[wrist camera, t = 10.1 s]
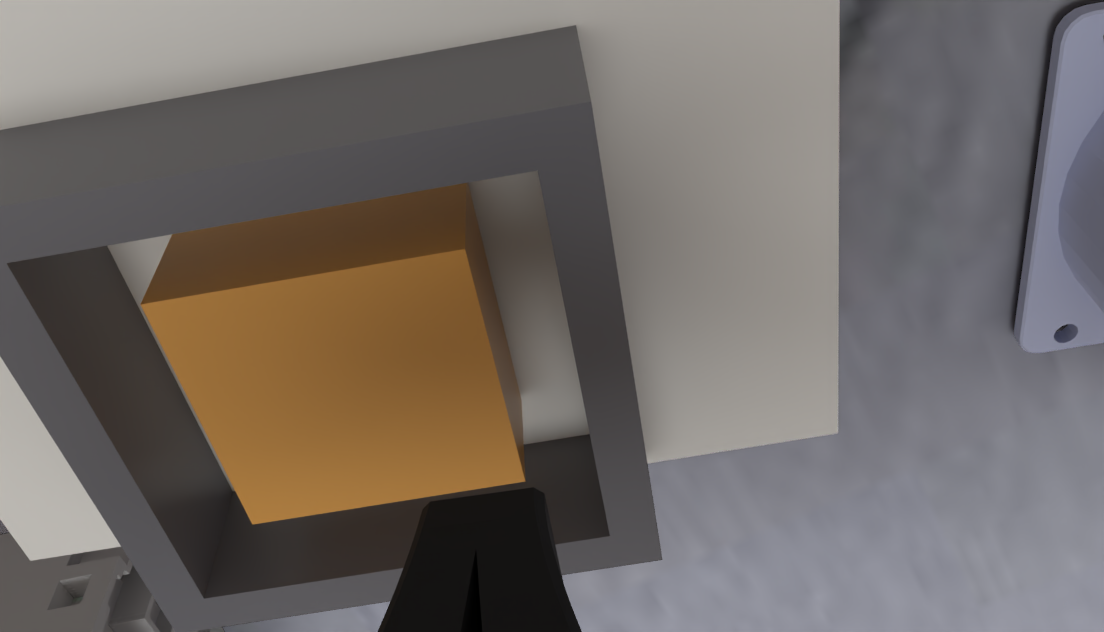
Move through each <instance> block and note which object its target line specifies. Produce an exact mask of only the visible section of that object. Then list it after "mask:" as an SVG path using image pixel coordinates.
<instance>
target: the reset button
mask: <svg viewBox="0 0 1104 632" xmlns="http://www.w3.org/2000/svg"><path fill="white" fill-rule="evenodd" d="M140 305H141V307H142V309H143V311H144V313H145V315H146V317H147V319H148V321H149V322H150V324H151V326H152V328H153V330H154V332H155V334H156V336H157V338H158V340H159V342H160V344H161V346H162V348H163V350H164V352H165V354H166V356H167V358H168V360H169V362H170V364H171V366H172V368H173V370H174V372H175V374H176V376H177V378H178V379H179V381H180V383H181V385H182V387H183V389H184V391H185V393H186V395H187V397H188V399H189V401H190V403H191V405H192V407H193V409H194V411H195V413H196V415H197V417H198V419H199V421H200V423H201V425H202V427H203V429H204V431H205V433H206V434H207V436H208V438H209V440H210V442H211V444H212V446H213V448H214V450H215V452H216V454H217V456H218V458H219V460H220V462H221V464H222V466H223V468H224V470H225V472H226V474H227V476H228V478H229V480H230V482H231V484H232V486H233V488H234V490H235V491H236V493H237V495H238V497H239V499H240V501H241V503H242V505H243V507H244V509H245V511H246V513H247V515H248V517H249V519H250V521H251V523H252V525H253V524H259V523H266V522H272V521H278V520H285V519H291V518H297V517H304V516H310V515H316V514H323V513H329V512H335V511H342V510H348V509H354V508H361V507H367V506H373V505H380V504H386V503H392V502H399V501H405V500H411V499H418V498H424V497H430V496H437V495H443V494H449V493H456V492H462V491H468V490H475V489H481V488H487V487H494V486H500V485H506V484H513V483H519V482H525V461H524V440H523V419H522V400H521V396H520V392H519V388H518V384H517V380H516V375H515V371H514V367H513V363H512V359H511V355H510V351H509V347H508V343H507V339H506V335H505V331H504V327H503V323H502V319H501V315H500V311H499V307H498V302H497V298H496V294H495V290H494V286H493V282H492V278H491V274H490V270H489V266H488V262H487V258H486V254H485V250H484V246H483V242H482V238H481V234H480V229H479V225H478V221H477V217H476V213H475V209H474V205H473V201H472V197H471V193H470V189H469V185H468V183H463V184H457V185H451V186H446V187H440V188H434V189H429V190H423V191H417V192H411V193H406V194H400V195H394V196H389V197H383V198H377V199H371V200H366V201H360V202H354V203H348V204H343V205H337V206H331V207H326V208H320V209H314V210H308V211H303V212H297V213H291V214H285V215H280V216H274V217H268V218H263V219H257V220H251V221H245V222H240V223H234V224H228V225H222V226H217V227H211V228H205V229H200V230H194V231H188V232H182V233H177V234H172V236H171V238H170V240H169V243H168V245H167V247H166V249H165V251H164V254H163V256H162V258H161V260H160V262H159V265H158V267H157V269H156V271H155V273H154V276H153V278H152V280H151V282H150V284H149V287H148V289H147V291H146V293H145V295H144V298H143V300H142V302H141V304H140Z"/></svg>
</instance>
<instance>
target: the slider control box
mask: <svg viewBox="0 0 1104 632" xmlns="http://www.w3.org/2000/svg"><path fill="white" fill-rule="evenodd" d="M839 12H840V0H0V520H1V521H2V522H3V524H4V525H5V527H6V528H7V529H8V531H9V532H10V534H11V535H12V536H13V538H14V539H15V540H16V542H17V543H18V545H19V546H20V547H21V549H22V550H23V551H24V553H25V554H26V556H27V557H28V558H29V560H30V561H33V560H39V559H45V558H52V557H58V556H64V555H71V554H77V553H83V552H90V551H96V550H102V549H109V548H115V547H122V549H123V550H124V552H125V553H126V555H127V557H128V558H129V560H130V561H131V563H132V564H133V566H134V568H135V569H136V571H137V572H138V574H139V575H140V577H141V579H142V580H143V582H144V583H145V585H146V586H147V588H148V590H149V591H150V593H151V594H152V596H153V597H154V599H155V601H156V602H157V604H158V605H159V607H160V608H161V610H162V612H163V613H164V615H165V616H166V618H167V619H168V621H169V623H170V624H171V626H172V627H173V629H174V630H175V632H192V631H199V630H205V629H212V628H218V627H225V626H232V625H238V624H245V623H251V622H258V621H264V620H271V619H277V618H284V617H291V616H297V615H304V614H310V613H317V612H323V611H330V610H336V609H343V608H350V607H356V606H363V605H369V604H376V603H382V602H389V601H391V599H392V596H393V594H394V591H395V589H396V586H397V584H398V581H399V578H400V576H401V573H402V570H403V568H404V565H405V562H406V559H407V557H408V554H409V551H410V548H411V545H412V542H413V539H414V536H415V533H416V530H417V526H418V523H419V519H420V516H421V513H422V509H423V508H424V507H425V506H426V505H427V504H428V503H429V502H430V501H437V500H444V499H452V498H459V497H466V496H474V495H481V494H488V493H495V492H503V491H510V490H517V489H525V488H532V487H534V488H536V489H538V490H539V491H541V492H543V493H544V494H545V498H546V503H547V508H548V513H549V517H550V522H551V527H552V532H553V536H554V541H555V546H556V551H557V555H558V560H559V565H560V570H561V574H562V575H566V574H572V573H579V572H586V571H592V570H599V569H605V568H612V567H618V566H625V565H631V564H638V563H644V562H651V561H658V560H662V554H661V548H660V542H659V535H658V529H657V522H656V516H655V509H654V503H653V496H652V490H651V483H650V477H649V471H648V464H647V463H654V462H660V461H666V460H673V459H679V458H685V457H692V456H698V455H704V454H711V453H717V452H723V451H730V450H736V449H742V448H749V447H755V446H761V445H768V444H774V443H780V442H787V441H793V440H799V439H806V438H812V437H818V436H825V435H831V434H837V433H838V321H839ZM463 183H468V185H469V189H470V193H471V197H472V201H473V205H474V209H475V213H476V217H477V221H478V225H479V229H480V234H481V238H482V242H483V246H484V250H485V254H486V258H487V262H488V266H489V270H490V274H491V278H492V282H493V286H494V290H495V294H496V298H497V302H498V307H499V311H500V315H501V319H502V323H503V327H504V331H505V335H506V339H507V343H508V347H509V351H510V355H511V359H512V363H513V367H514V371H515V375H516V380H517V384H518V388H519V392H520V396H521V400H522V419H523V440H524V461H525V482H519V483H513V484H506V485H500V486H494V487H487V488H481V489H475V490H468V491H462V492H456V493H449V494H443V495H437V496H430V497H424V498H418V499H411V500H405V501H399V502H392V503H386V504H380V505H373V506H367V507H361V508H354V509H348V510H342V511H335V512H329V513H323V514H316V515H310V516H304V517H297V518H291V519H285V520H278V521H272V522H266V523H259V524H253V525H252V523H251V521H250V519H249V517H248V515H247V513H246V511H245V509H244V507H243V505H242V503H241V501H240V499H239V497H238V495H237V493H236V491H235V490H234V488H233V486H232V484H231V482H230V480H229V478H228V476H227V474H226V472H225V470H224V468H223V466H222V464H221V462H220V460H219V458H218V456H217V454H216V452H215V450H214V448H213V446H212V444H211V442H210V440H209V438H208V436H207V434H206V433H205V431H204V429H203V427H202V425H201V423H200V421H199V419H198V417H197V415H196V413H195V411H194V409H193V407H192V405H191V403H190V401H189V399H188V397H187V395H186V393H185V391H184V389H183V387H182V385H181V383H180V381H179V379H178V378H177V376H176V374H175V372H174V370H173V368H172V366H171V364H170V362H169V360H168V358H167V356H166V354H165V352H164V350H163V348H162V346H161V344H160V342H159V340H158V338H157V336H156V334H155V332H154V330H153V328H152V326H151V324H150V322H149V321H148V319H147V317H146V315H145V313H144V311H143V309H142V307H141V305H140V304H141V302H142V300H143V298H144V295H145V293H146V291H147V289H148V287H149V284H150V282H151V280H152V278H153V276H154V273H155V271H156V269H157V267H158V265H159V262H160V260H161V258H162V256H163V254H164V251H165V249H166V247H167V245H168V243H169V240H170V238H171V236H172V234H177V233H182V232H188V231H194V230H200V229H205V228H211V227H217V226H222V225H228V224H234V223H240V222H245V221H251V220H257V219H263V218H268V217H274V216H280V215H285V214H291V213H297V212H303V211H308V210H314V209H320V208H326V207H331V206H337V205H343V204H348V203H354V202H360V201H366V200H371V199H377V198H383V197H389V196H394V195H400V194H406V193H411V192H417V191H423V190H429V189H434V188H440V187H446V186H451V185H457V184H463Z"/></svg>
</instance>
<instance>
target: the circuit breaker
mask: <svg viewBox="0 0 1104 632" xmlns="http://www.w3.org/2000/svg"><path fill="white" fill-rule="evenodd" d="M0 632H175V630H174V629H173V627H172V626H171V624H170V623H169V621H168V619H167V618H166V616H165V615H164V613H163V612H162V610H161V608H160V607H159V605H158V604H157V602H156V601H155V599H154V597H153V596H152V594H151V593H150V591H149V590H148V588H147V586H146V585H145V583H144V582H143V580H142V579H141V577H140V575H139V574H138V572H137V571H136V569H135V568H134V566H133V564H132V563H131V561H130V560H129V558H128V557H127V555H126V553H125V552H124V550H123V549H122V547H115V548H109V549H102V550H96V551H90V552H83V553H77V554H71V555H64V556H58V557H52V558H45V559H39V560H33V561H30V560H29V558H28V557H27V556H26V554H25V553H24V551H23V550H22V549H21V547H20V546H19V545H18V543H17V542H16V540H15V539H14V538H13V536H12V535H11V534H10V533H6V534H1V535H0ZM192 632H225V631H224V630H223V628H222V627H218V628H212V629H205V630H199V631H192Z"/></svg>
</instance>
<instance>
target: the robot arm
mask: <svg viewBox="0 0 1104 632" xmlns="http://www.w3.org/2000/svg"><path fill="white" fill-rule="evenodd" d="M1103 35H1104V2H1100V3H1094V4H1089V5H1084V6H1081V7H1078V8H1076V9H1073V10H1072V11H1071V12H1069V13H1068V14H1067V15H1065V16H1064V17H1063V19H1062V20H1061V21H1060V23H1059V24H1058V25H1057V28H1056V31H1055V34H1054V37H1053V44H1052V52H1051V59H1050V67H1049V74H1048V82H1047V89H1046V96H1045V104H1044V111H1043V119H1042V126H1041V134H1040V141H1039V148H1038V156H1037V163H1036V171H1035V178H1034V186H1033V193H1032V201H1031V208H1030V215H1029V223H1028V230H1027V238H1026V245H1025V253H1024V260H1023V267H1022V275H1021V282H1020V290H1019V297H1018V305H1017V312H1016V319H1015V327H1014V336H1015V339H1016V340H1017V342H1018V343H1019V345H1020V346H1021V347H1022V349H1023V350H1024V351H1026V352H1029V353H1044V352H1050V351H1056V350H1062V349H1069V348H1075V347H1081V346H1087V345H1093V344H1100V343H1104V39H1103ZM1067 324H1068V326H1067V327H1066V328H1064V329H1063V330H1061V331H1058V332H1056V330H1058V329H1059V328H1060V327H1061V326H1064V325H1067ZM378 632H582V631H581V629H580V626H579V624H578V621H577V619H576V616H575V614H574V611H573V609H572V607H571V604H570V601H569V598H568V595H567V593H566V590H565V587H564V584H563V579H562V574H561V570H560V565H559V560H558V555H557V551H556V546H555V541H554V536H553V532H552V527H551V522H550V517H549V513H548V508H547V503H546V498H545V494H544V493H543V492H541V491H539V490H538V489H536V488H534V487H532V488H525V489H517V490H510V491H503V492H495V493H488V494H481V495H474V496H466V497H459V498H452V499H444V500H437V501H430V502H429V503H428V504H427V505H426V506H425V507H424V508H423V509H422V513H421V516H420V519H419V523H418V526H417V530H416V533H415V536H414V539H413V542H412V545H411V548H410V551H409V554H408V557H407V559H406V562H405V565H404V568H403V570H402V573H401V576H400V578H399V581H398V584H397V586H396V589H395V591H394V594H393V596H392V599H391V602H390V604H389V607H388V609H387V611H386V614H385V616H384V618H383V621H382V623H381V625H380V628H379V630H378Z"/></svg>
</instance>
